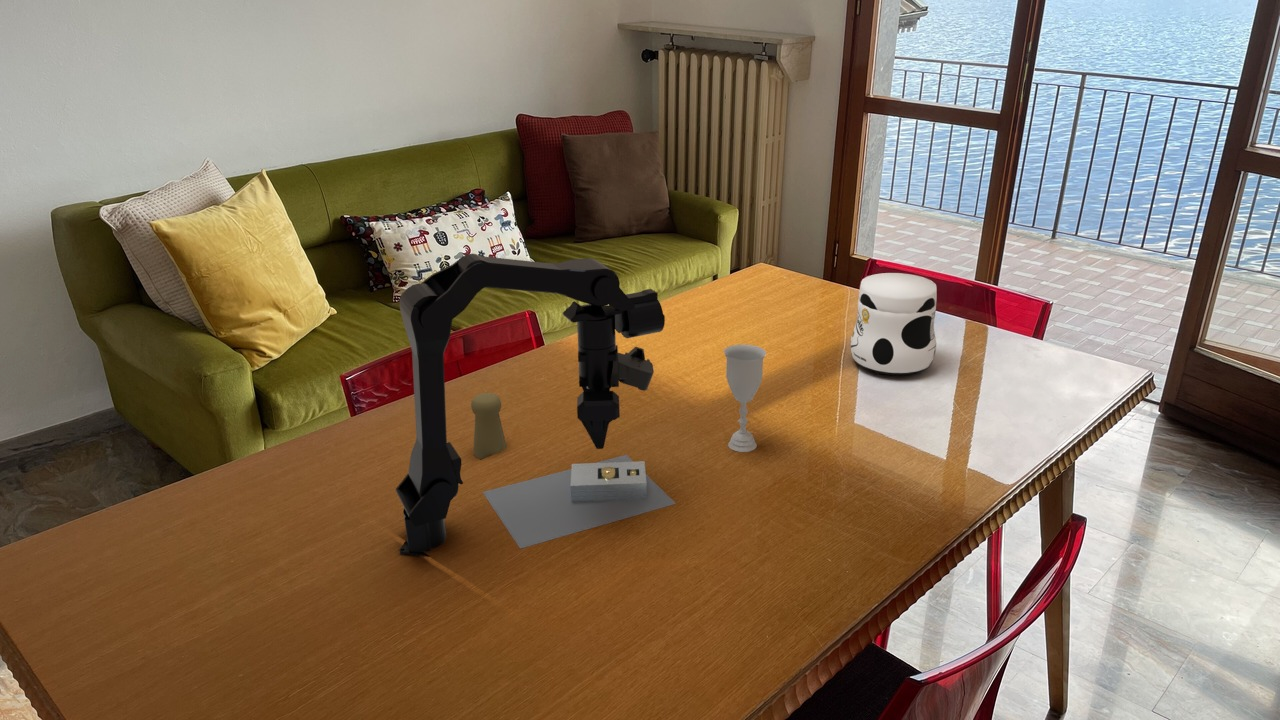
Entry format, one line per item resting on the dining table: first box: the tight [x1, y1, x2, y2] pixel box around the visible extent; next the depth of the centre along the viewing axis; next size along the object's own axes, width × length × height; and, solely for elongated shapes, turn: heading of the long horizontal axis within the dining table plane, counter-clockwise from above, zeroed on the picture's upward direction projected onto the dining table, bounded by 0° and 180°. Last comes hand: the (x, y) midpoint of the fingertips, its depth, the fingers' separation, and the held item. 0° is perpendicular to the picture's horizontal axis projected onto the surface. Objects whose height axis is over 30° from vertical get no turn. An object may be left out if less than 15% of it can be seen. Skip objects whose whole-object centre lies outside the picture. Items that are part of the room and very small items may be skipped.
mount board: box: [482, 454, 677, 550], centre depth 151 cm, size 26×18×1 cm
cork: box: [470, 392, 508, 460], centre depth 165 cm, size 6×6×11 cm
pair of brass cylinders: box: [601, 467, 636, 479], centre depth 152 cm, size 6×2×4 cm, turn 92°
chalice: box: [723, 344, 767, 453], centre depth 164 cm, size 7×7×18 cm
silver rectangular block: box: [571, 460, 647, 502], centre depth 152 cm, size 12×7×3 cm, turn 92°
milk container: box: [850, 272, 938, 376], centre depth 195 cm, size 17×17×18 cm
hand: (599, 434), depth 149 cm, fingers open, 9 cm apart
